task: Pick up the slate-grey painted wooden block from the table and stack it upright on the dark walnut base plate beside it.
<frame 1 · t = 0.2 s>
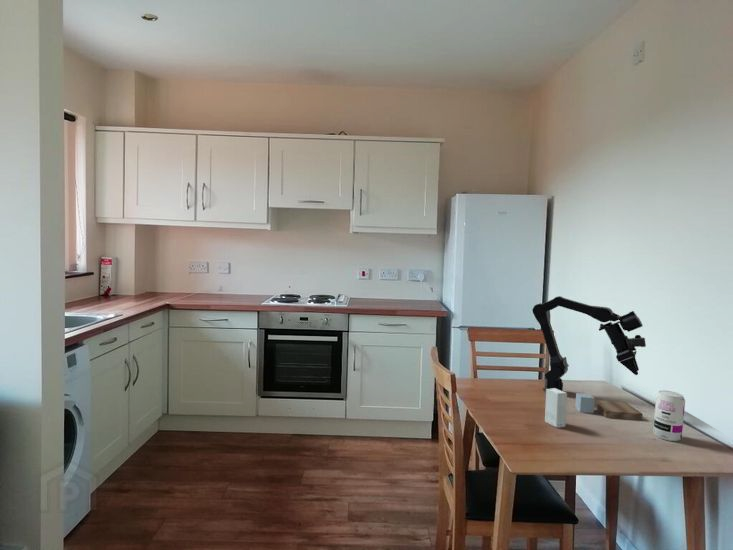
hand: (637, 372, 187), 15 cm above the table, tool tilted 30°, fingers open, 9 cm apart
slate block: (584, 410, 183), on the table
walnut base: (615, 412, 182), on the table
skincare box: (554, 424, 166), on the table
supplement can: (666, 437, 160), on the table
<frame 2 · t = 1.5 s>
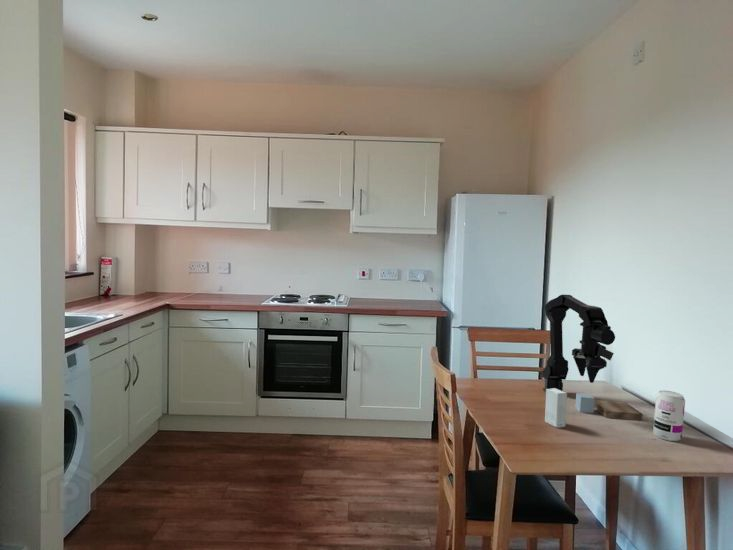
hand: (586, 379, 182), 12 cm above the table, tool pointing down, fingers open, 9 cm apart
nothing on the table moved.
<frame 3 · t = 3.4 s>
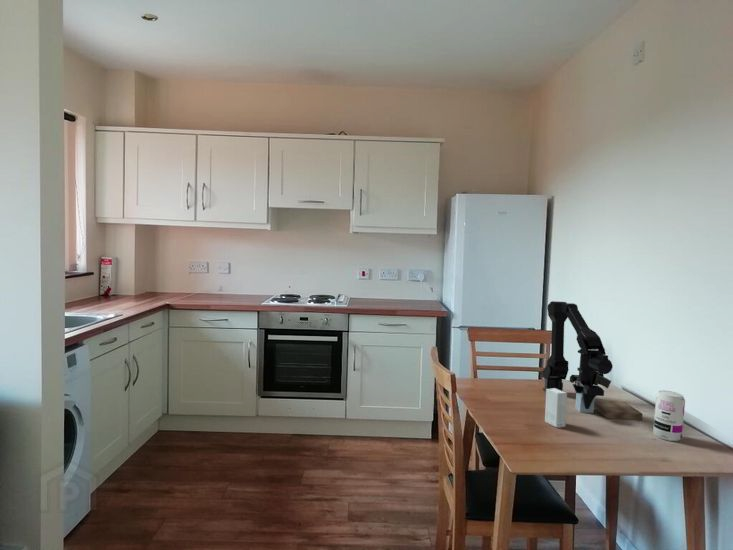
hand: (584, 406, 183), 2 cm above the table, tool pointing down, fingers closed on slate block, 5 cm apart
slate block: (584, 410, 183), on the table, touching gripper
everything else where it was.
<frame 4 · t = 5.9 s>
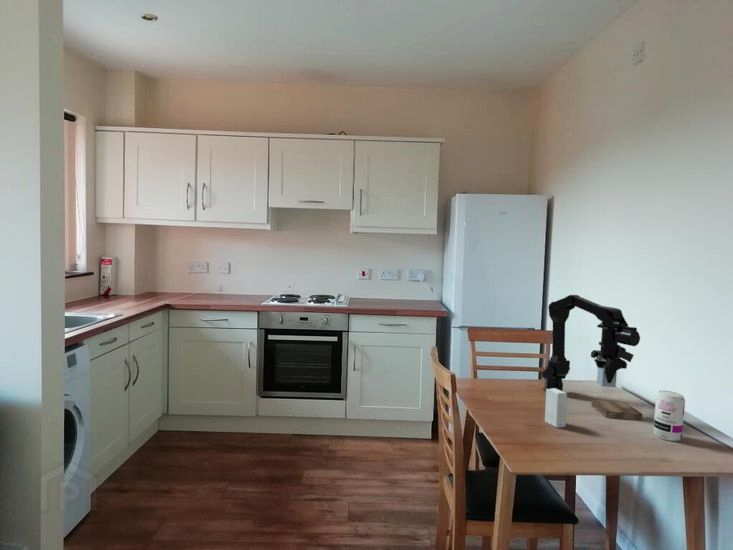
hand: (606, 381, 181), 12 cm above the table, tool pointing down, fingers closed on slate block, 5 cm apart
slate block: (606, 385, 181), point 11 cm above the table, touching gripper
everything else where it was.
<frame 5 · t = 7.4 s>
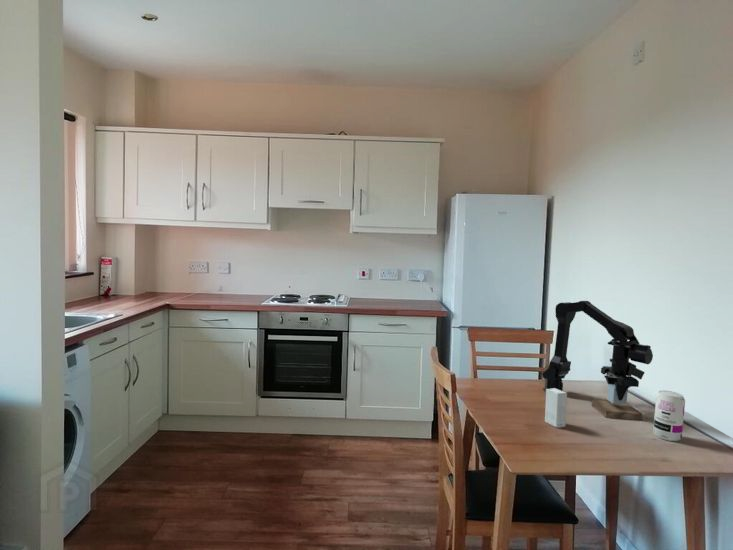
hand: (617, 397, 182), 6 cm above the table, tool pointing down, fingers closed on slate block, 5 cm apart
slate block: (616, 401, 182), point 4 cm above the table, touching gripper
everything else where it was.
when the fingers open (5 cm above the table, at t = 8.4 s): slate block stays where it is, resting on walnut base.
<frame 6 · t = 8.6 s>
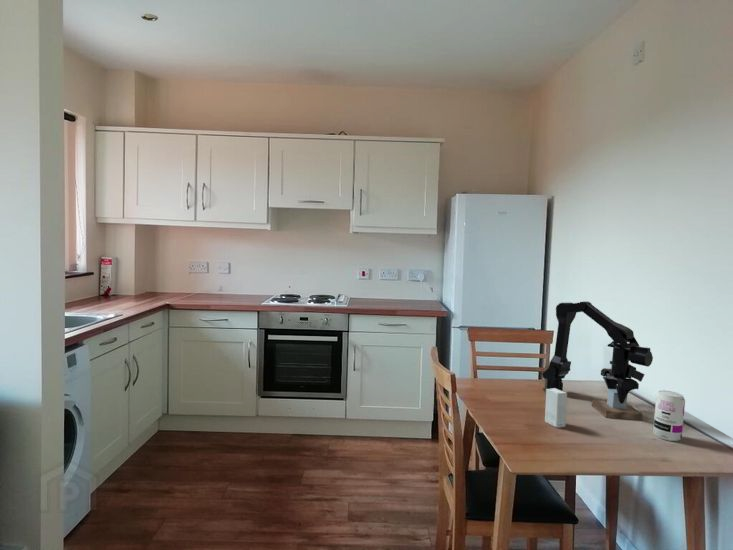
hand: (616, 400, 182), 5 cm above the table, tool pointing down, fingers open, 7 cm apart
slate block: (616, 406, 182), point 2 cm above the table, touching walnut base
everything else where it was.
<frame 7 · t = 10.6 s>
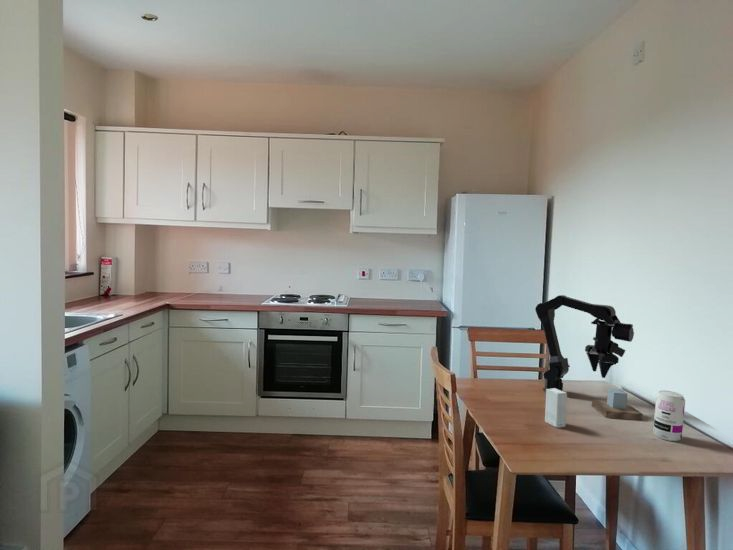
hand: (598, 374, 191), 12 cm above the table, tool pointing down, fingers open, 9 cm apart
nothing on the table moved.
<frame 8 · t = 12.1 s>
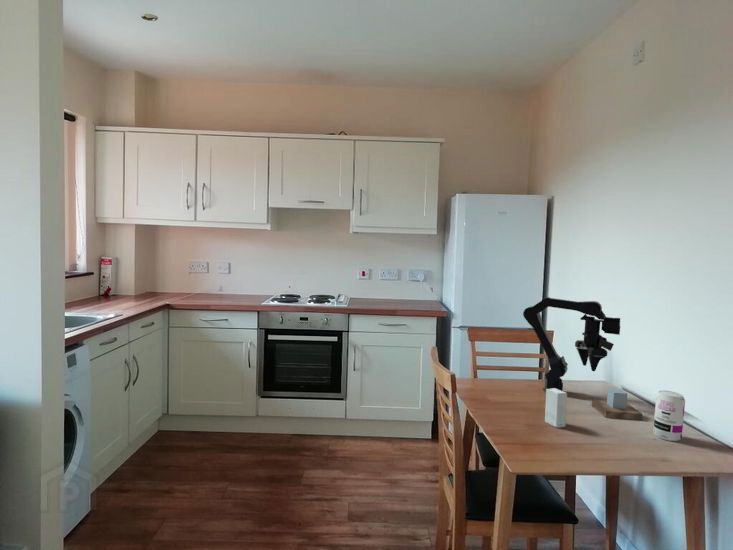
hand: (588, 368, 197), 13 cm above the table, tool pointing down, fingers open, 9 cm apart
nothing on the table moved.
at the end: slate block inside the target area on the walnut base (0.1 cm from its centre), point 2.5 cm above the walnut base's base; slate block tilted 0°; the gripper is holding nothing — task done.
